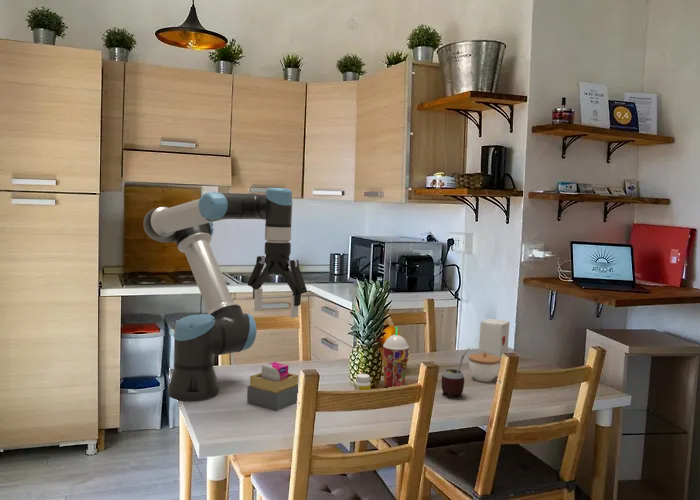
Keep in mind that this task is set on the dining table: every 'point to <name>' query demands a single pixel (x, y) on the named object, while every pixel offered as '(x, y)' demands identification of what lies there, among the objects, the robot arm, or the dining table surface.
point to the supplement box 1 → (274, 371)
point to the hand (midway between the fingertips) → (275, 313)
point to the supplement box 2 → (494, 337)
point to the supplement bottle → (362, 382)
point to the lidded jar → (484, 366)
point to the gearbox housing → (272, 392)
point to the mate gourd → (453, 381)
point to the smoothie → (395, 360)
